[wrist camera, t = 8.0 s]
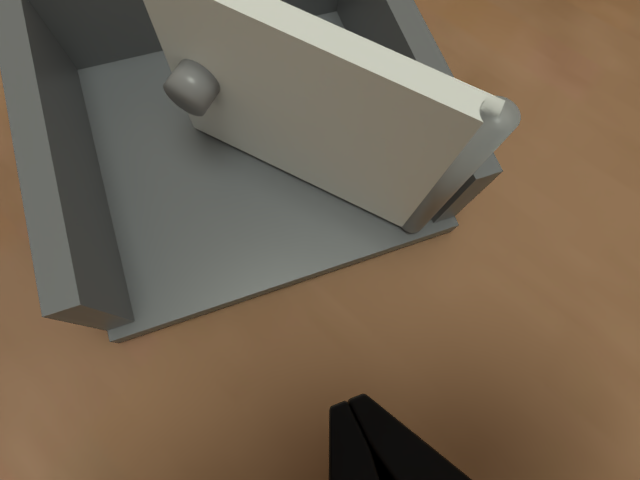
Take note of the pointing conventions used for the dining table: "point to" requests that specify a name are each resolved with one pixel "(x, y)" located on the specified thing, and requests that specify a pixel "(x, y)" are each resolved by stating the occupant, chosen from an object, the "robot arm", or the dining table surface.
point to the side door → (328, 104)
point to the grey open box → (171, 173)
